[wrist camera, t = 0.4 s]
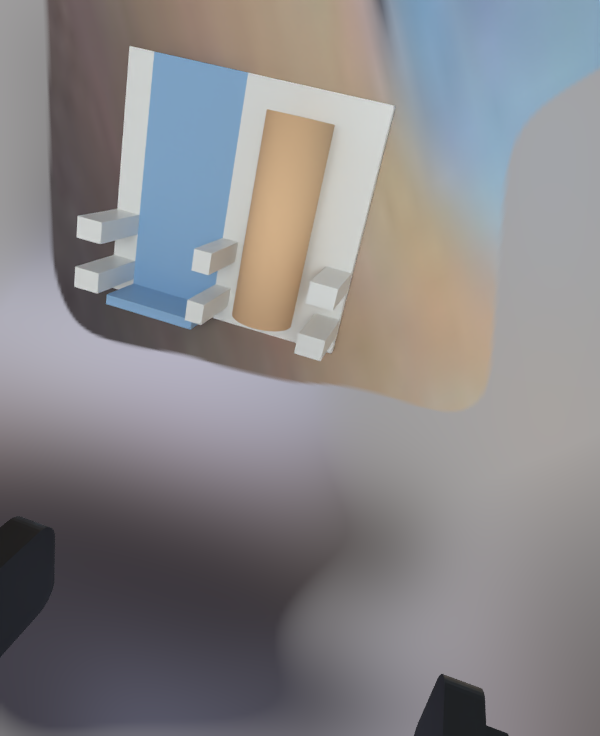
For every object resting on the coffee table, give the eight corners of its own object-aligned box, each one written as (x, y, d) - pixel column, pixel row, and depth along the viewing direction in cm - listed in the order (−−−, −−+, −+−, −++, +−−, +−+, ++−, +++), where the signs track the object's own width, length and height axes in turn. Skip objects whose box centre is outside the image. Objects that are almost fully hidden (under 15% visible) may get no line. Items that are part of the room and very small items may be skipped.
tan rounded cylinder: (278, 111, 30) (257, 107, 27) (340, 126, 30) (327, 123, 26) (244, 303, 35) (222, 319, 31) (297, 319, 34) (281, 336, 31)
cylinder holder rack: (135, 47, 31) (86, 32, 27) (395, 106, 29) (385, 99, 25) (116, 285, 37) (73, 302, 33) (333, 350, 35) (316, 377, 31)
